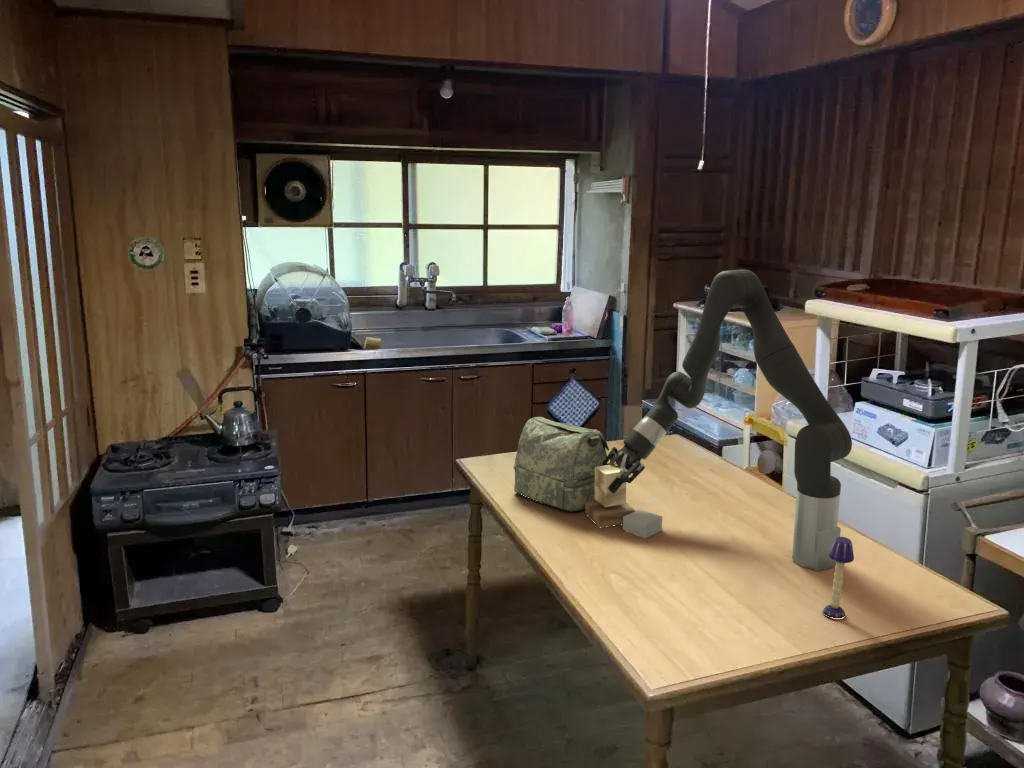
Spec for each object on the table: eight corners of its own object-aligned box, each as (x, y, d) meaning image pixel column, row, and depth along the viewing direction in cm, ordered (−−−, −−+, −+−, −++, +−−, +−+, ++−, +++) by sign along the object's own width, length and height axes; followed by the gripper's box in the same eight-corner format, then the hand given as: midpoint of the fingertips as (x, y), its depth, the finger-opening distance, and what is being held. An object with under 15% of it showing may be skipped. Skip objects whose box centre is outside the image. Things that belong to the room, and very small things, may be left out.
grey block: (661, 531, 204) (662, 516, 203) (645, 539, 199) (645, 524, 198) (639, 523, 209) (640, 509, 208) (622, 531, 204) (623, 516, 203)
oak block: (625, 503, 209) (626, 470, 207) (605, 507, 207) (605, 474, 204) (614, 495, 214) (615, 463, 212) (594, 499, 212) (594, 467, 210)
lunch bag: (618, 501, 223) (619, 426, 218) (572, 519, 211) (572, 440, 206) (552, 477, 242) (552, 408, 237) (507, 493, 230) (506, 420, 225)
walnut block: (635, 524, 208) (635, 510, 207) (599, 529, 205) (599, 515, 205) (619, 510, 217) (619, 496, 217) (585, 515, 215) (585, 501, 214)
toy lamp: (842, 609, 164) (849, 533, 160) (852, 621, 160) (859, 543, 156) (819, 610, 164) (825, 534, 160) (828, 621, 159) (835, 544, 155)
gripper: (622, 422, 215) (582, 470, 214) (650, 436, 202) (608, 488, 201) (639, 438, 218) (600, 486, 217) (668, 453, 205) (627, 504, 204)
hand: (604, 486), depth 209 cm, fingers closed on oak block, 6 cm apart
